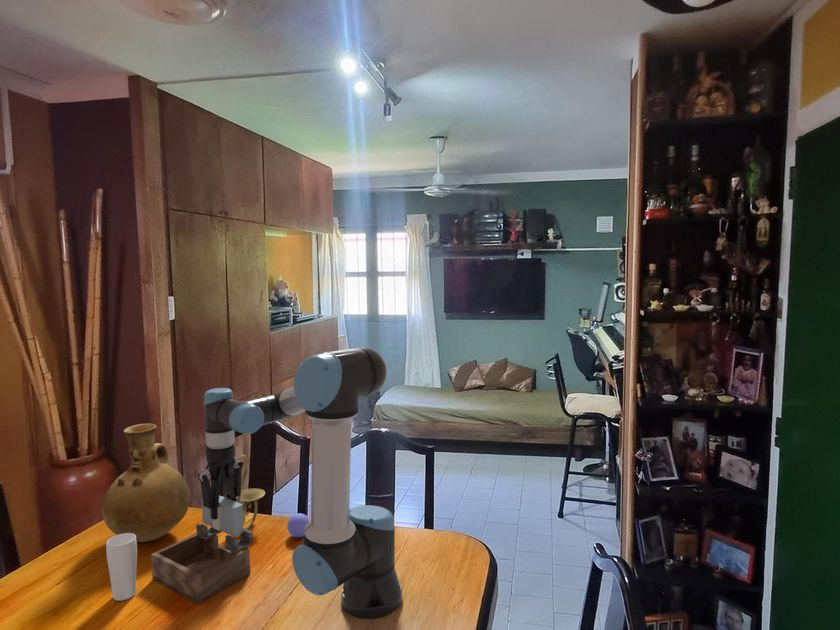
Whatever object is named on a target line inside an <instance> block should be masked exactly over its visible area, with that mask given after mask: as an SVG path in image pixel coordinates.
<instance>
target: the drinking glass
mask: <svg viewBox="0 0 840 630" xmlns="http://www.w3.org/2000/svg"><path fill="white" fill-rule="evenodd" d="M105 547H106V548H105V549H106V550H105V552H106V553H105V554H106V562H107V567H108V575H109V581H110V586H111V595H112V599H113V600H114V601H117V602H118V601H119V602H122V601H126V600H129V599H131V598H132V597H134V596H135V594H136V592H137V567H138V566H137V564H138V562H137V561H138V543H137V540H136V535H135V534H132V533H123V534H119V535H116V534H115V535H114V536H113V535H112V537H110V538H109V539H107V540H106V545H105Z"/></svg>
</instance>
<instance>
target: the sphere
mask: <svg viewBox="0 0 840 630" xmlns="http://www.w3.org/2000/svg"><path fill="white" fill-rule="evenodd" d="M310 521H311V519H310V518H309V517H308V516H307V515H306V514H304V513H300V512H299V513H295V514H293V515H292V516H291V517H289V519H288V521H287V525H286V527H287V531H288V533H289V535H291V537H294V538H302V537H303V538H304V528H305V526H306V525H307V524H308V523H309V522H310Z"/></svg>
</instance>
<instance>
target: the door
mask: <svg viewBox="0 0 840 630" xmlns="http://www.w3.org/2000/svg"><path fill="white" fill-rule="evenodd" d="M243 505H244V503H241V502H240V503H238V502H237V501H236V502H235V501H232V500H230V499H227V498H226V496H221V494H219V505H218V506H220V507H221V522H222V530H220V531H222V532H221V533H225V534H226V535H229V536H232V537H234V538H236V537H237V536H240V534H241V533H243V528H244V525H243ZM201 517H202V518H201V519H202V522H201V524H203V525H206V526H209V527H210V528H211V527H213V519H211V511H210V509H209V508H207V507H204V506H203V498H202V497H201Z"/></svg>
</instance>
